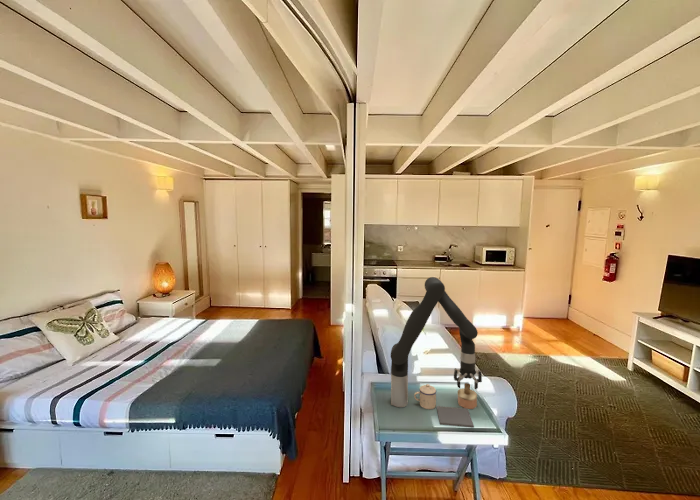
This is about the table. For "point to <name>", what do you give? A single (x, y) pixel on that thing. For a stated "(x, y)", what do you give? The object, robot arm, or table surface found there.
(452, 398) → the table surface
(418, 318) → the robot arm
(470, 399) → the lid
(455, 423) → the mat
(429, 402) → the teacup with lid
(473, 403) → the bowl
